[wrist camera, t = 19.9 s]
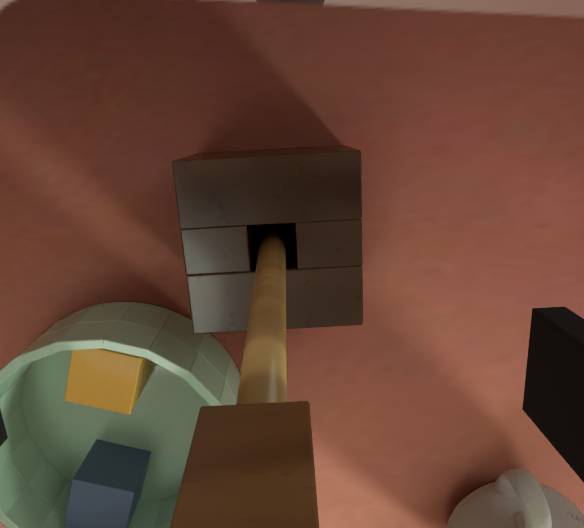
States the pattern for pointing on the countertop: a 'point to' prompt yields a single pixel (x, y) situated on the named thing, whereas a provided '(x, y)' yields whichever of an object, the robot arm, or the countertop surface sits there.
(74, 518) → the slate block
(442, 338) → the countertop surface
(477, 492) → the teacup
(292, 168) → the holder
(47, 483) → the bowl
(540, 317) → the robot arm
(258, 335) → the brown wooden peg
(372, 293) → the countertop surface
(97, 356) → the mustard block
